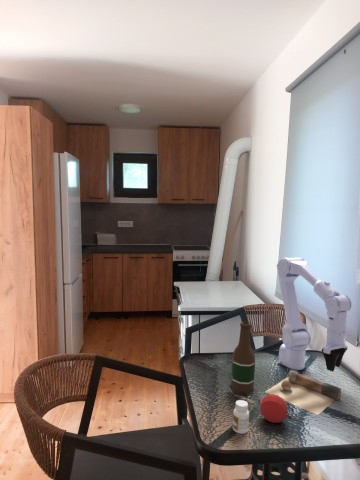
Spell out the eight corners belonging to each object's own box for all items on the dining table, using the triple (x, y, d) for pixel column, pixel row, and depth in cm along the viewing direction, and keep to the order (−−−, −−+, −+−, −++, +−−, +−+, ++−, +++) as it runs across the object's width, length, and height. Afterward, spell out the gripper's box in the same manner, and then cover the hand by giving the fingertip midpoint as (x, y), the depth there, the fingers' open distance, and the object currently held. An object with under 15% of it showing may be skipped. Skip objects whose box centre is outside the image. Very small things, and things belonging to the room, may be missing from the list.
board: (264, 396, 119) (265, 381, 118) (289, 380, 131) (290, 366, 130) (317, 420, 106) (318, 404, 106) (339, 399, 118) (340, 385, 118)
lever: (286, 380, 126) (287, 372, 126) (291, 378, 129) (291, 369, 128) (337, 401, 114) (338, 391, 114) (341, 397, 116) (341, 387, 116)
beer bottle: (255, 388, 123) (259, 321, 121) (250, 399, 116) (254, 328, 114) (234, 383, 126) (237, 317, 124) (227, 393, 119) (231, 324, 117)
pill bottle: (230, 424, 102) (232, 399, 101) (245, 424, 103) (247, 398, 102) (234, 434, 98) (236, 407, 97) (250, 434, 98) (251, 407, 97)
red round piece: (274, 400, 100) (278, 383, 107) (252, 409, 104) (257, 392, 110) (291, 423, 100) (294, 405, 106) (269, 431, 103) (273, 413, 110)
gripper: (340, 338, 113) (336, 379, 115) (355, 328, 124) (352, 366, 125) (318, 332, 118) (315, 371, 120) (335, 323, 129) (332, 359, 130)
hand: (333, 368), depth 123 cm, fingers open, 4 cm apart
